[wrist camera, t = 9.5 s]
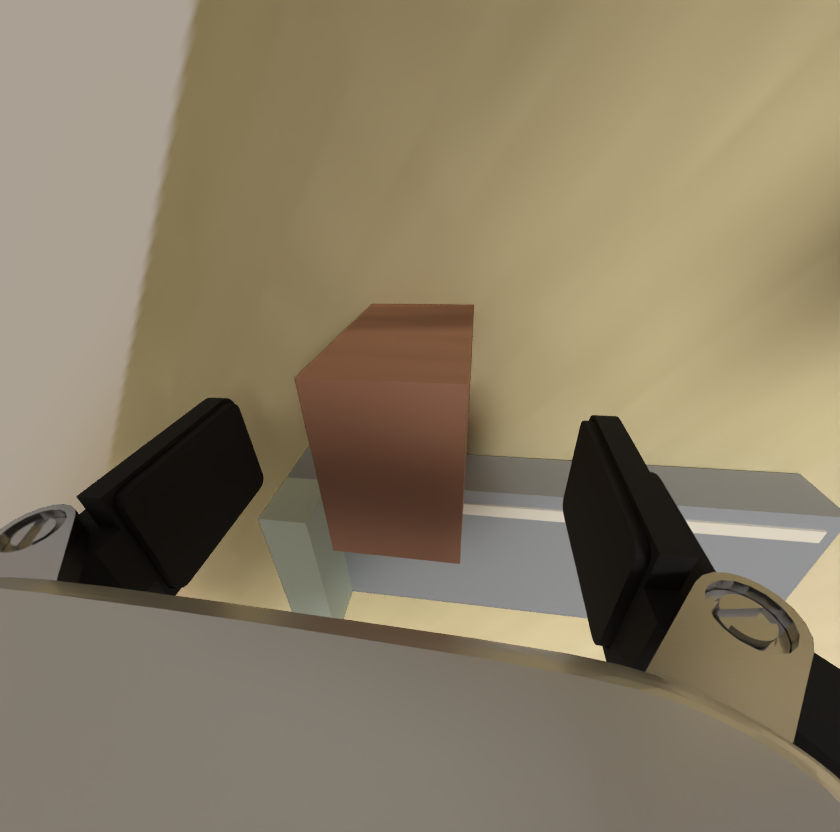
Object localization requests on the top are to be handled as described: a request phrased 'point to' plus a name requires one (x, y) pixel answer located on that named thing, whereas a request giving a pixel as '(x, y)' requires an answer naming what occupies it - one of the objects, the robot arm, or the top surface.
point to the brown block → (393, 430)
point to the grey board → (545, 537)
